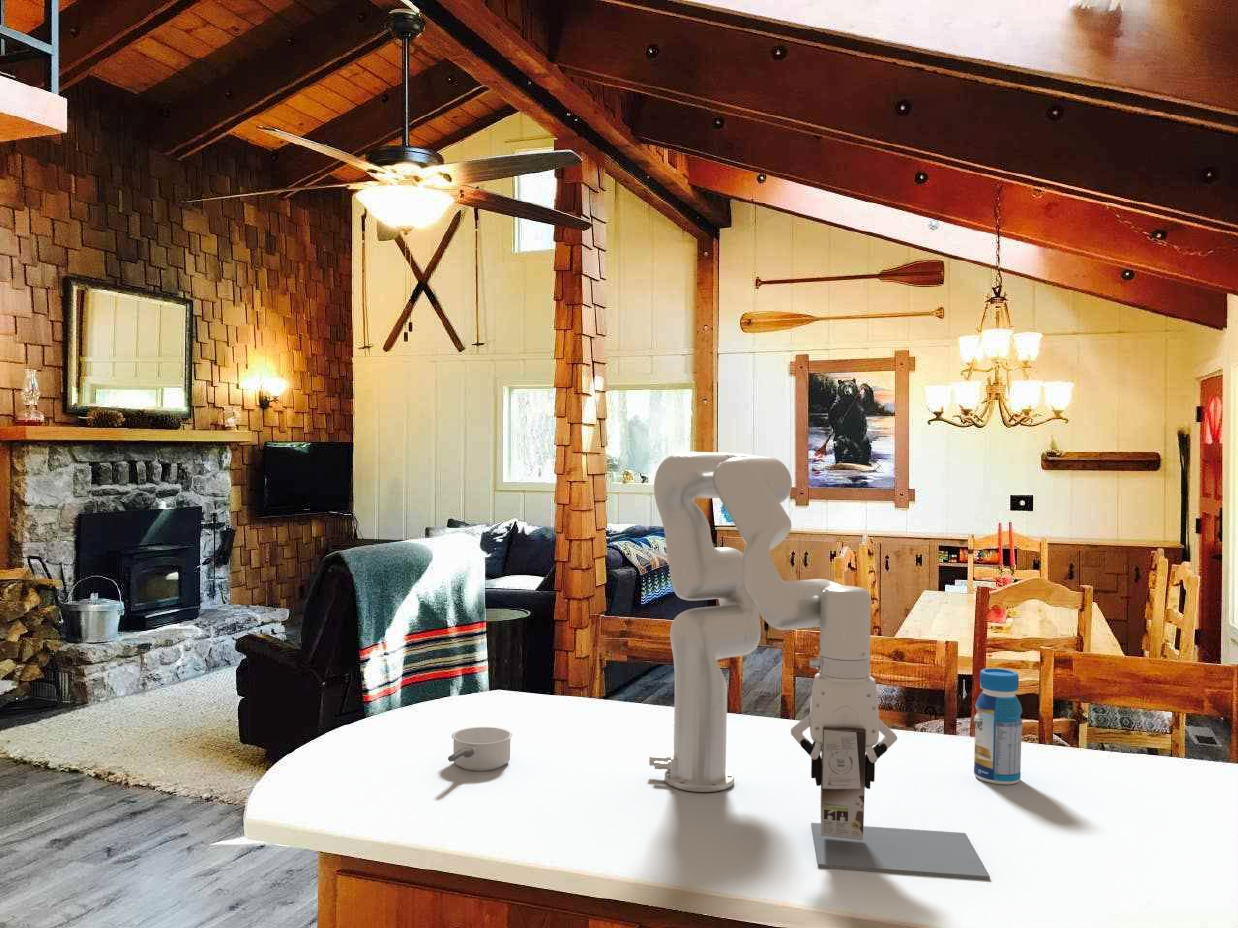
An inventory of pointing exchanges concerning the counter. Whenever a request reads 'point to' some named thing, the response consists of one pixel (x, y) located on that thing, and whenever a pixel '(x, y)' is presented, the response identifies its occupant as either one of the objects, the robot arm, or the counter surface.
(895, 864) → the slate mat
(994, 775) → the beverage bottle
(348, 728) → the counter surface
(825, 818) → the coffee box
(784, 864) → the counter surface
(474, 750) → the saucepan
